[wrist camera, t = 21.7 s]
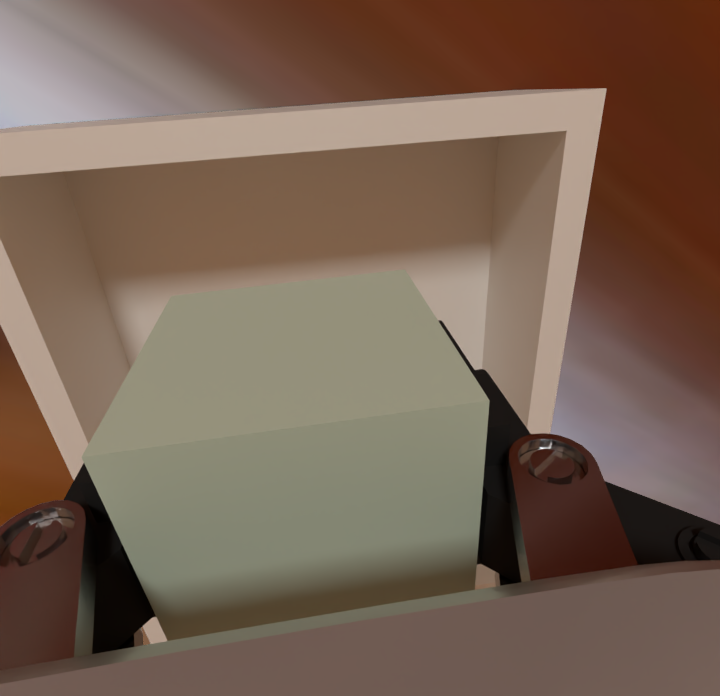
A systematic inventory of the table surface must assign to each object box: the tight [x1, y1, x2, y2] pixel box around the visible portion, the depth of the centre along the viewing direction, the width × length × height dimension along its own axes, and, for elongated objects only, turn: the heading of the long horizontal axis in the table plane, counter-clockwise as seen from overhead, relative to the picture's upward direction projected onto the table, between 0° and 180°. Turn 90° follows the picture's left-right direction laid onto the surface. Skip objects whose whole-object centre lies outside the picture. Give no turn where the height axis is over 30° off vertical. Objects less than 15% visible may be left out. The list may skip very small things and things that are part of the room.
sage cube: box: [82, 269, 490, 641], centre depth 9 cm, size 5×5×5 cm
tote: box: [0, 88, 607, 644], centre depth 20 cm, size 22×18×6 cm
